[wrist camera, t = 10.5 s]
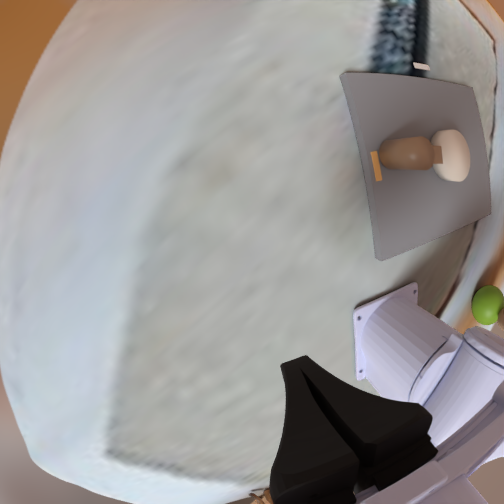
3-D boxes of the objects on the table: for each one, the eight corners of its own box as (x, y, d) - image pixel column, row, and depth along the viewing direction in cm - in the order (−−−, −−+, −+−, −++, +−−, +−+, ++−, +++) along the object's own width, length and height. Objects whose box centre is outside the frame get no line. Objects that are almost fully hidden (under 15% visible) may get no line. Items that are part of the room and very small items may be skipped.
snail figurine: (464, 289, 27) (531, 325, 16) (486, 275, 28) (547, 304, 16) (458, 324, 29) (517, 363, 17) (481, 307, 29) (536, 340, 18)
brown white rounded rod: (455, 132, 20) (486, 131, 16) (460, 179, 21) (491, 183, 17) (372, 124, 18) (407, 116, 14) (380, 186, 20) (416, 189, 16)
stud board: (485, 212, 25) (491, 213, 24) (375, 258, 23) (382, 261, 22) (463, 76, 20) (469, 75, 19) (333, 59, 18) (340, 55, 17)
